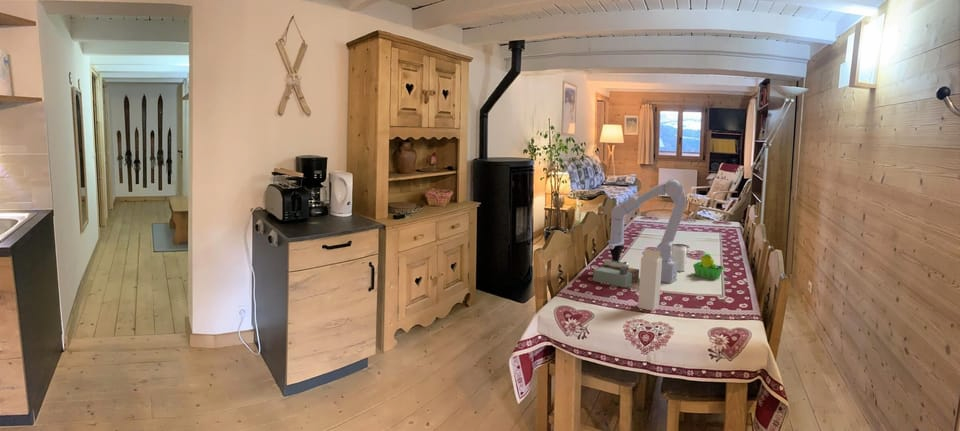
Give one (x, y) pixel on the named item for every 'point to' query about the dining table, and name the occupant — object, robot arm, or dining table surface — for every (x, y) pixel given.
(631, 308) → the dining table surface
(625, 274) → the grey-green rectangular block
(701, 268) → the fruit basket
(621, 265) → the lock bar
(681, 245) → the can
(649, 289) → the milk
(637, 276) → the jamb
